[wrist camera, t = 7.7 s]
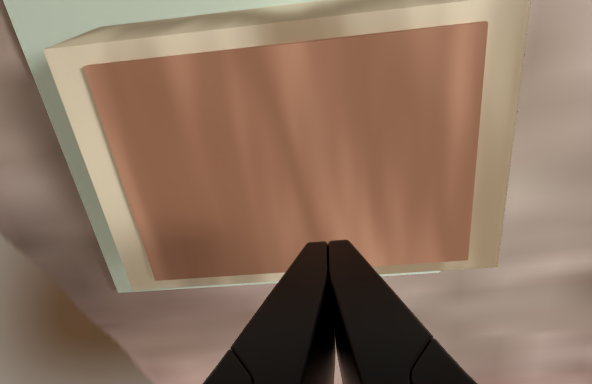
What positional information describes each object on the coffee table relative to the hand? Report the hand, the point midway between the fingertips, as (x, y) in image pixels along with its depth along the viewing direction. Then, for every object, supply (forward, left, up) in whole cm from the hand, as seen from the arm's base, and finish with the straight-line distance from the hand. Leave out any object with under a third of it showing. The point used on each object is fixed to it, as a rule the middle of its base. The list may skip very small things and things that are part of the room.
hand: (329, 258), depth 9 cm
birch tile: (-5, 0, -6) cm, 8 cm away
